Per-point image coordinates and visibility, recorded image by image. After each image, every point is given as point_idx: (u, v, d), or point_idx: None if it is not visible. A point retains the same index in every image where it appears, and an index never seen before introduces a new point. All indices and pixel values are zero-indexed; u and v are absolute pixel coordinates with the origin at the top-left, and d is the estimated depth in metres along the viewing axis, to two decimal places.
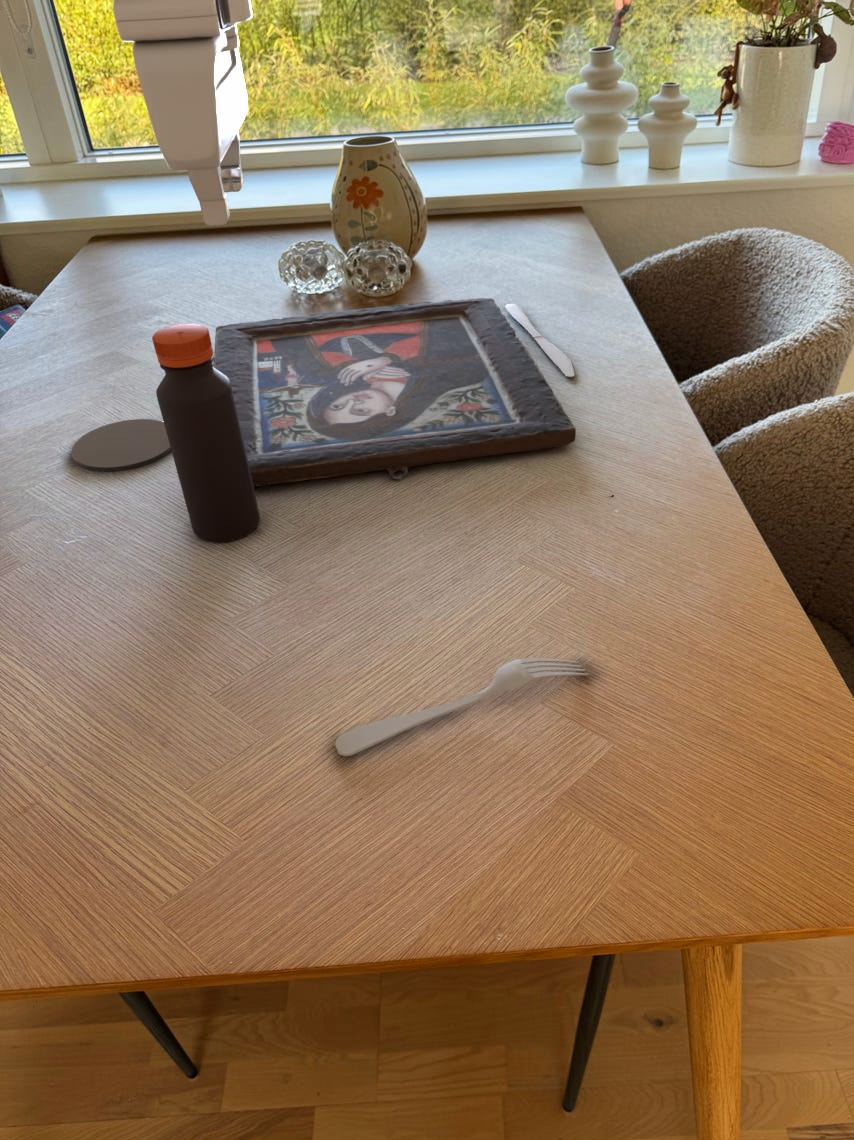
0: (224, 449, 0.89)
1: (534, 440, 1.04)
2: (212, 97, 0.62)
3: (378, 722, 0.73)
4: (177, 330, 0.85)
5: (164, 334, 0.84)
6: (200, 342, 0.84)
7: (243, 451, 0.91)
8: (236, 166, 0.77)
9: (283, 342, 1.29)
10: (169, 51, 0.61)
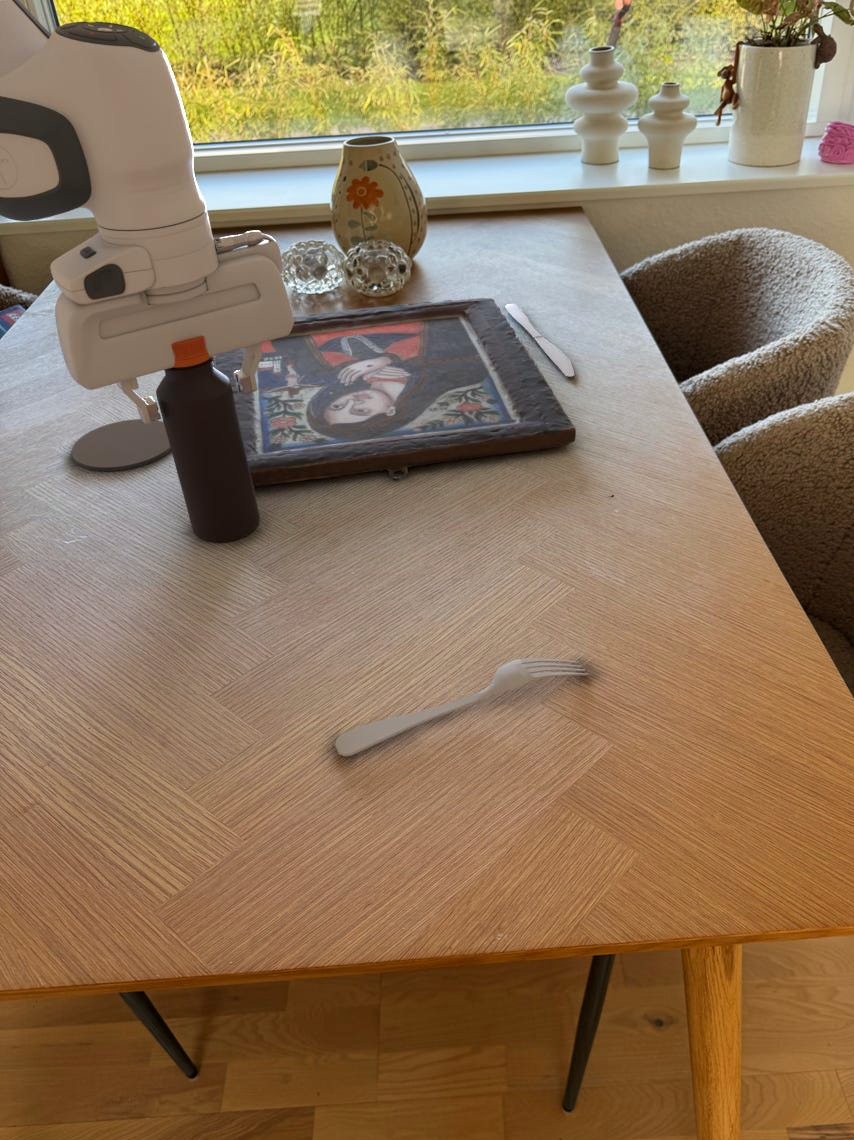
0: (224, 449, 0.89)
1: (534, 440, 1.04)
2: (72, 345, 0.78)
3: (378, 722, 0.73)
4: None
5: None
6: (199, 341, 0.84)
7: (243, 451, 0.91)
8: (243, 376, 0.89)
9: (283, 342, 1.29)
10: (64, 304, 0.78)
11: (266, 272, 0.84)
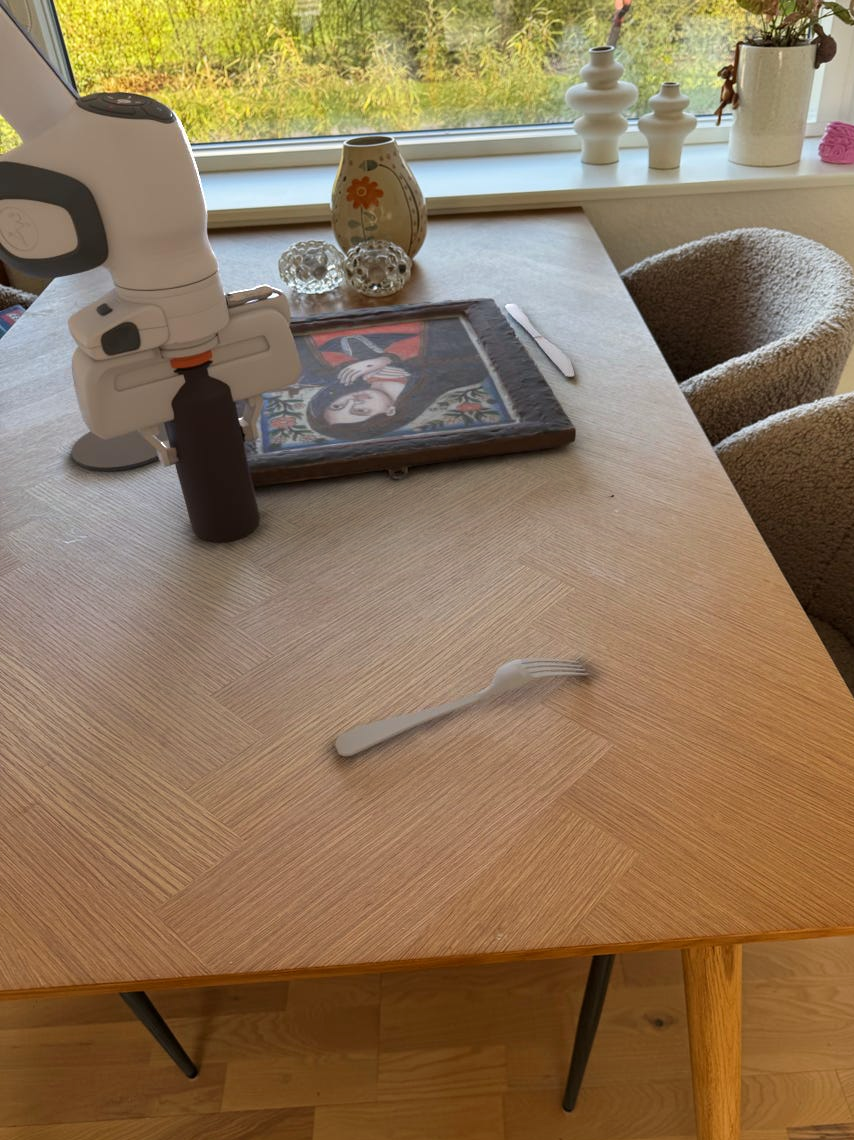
0: (223, 450, 0.89)
1: (534, 440, 1.04)
2: (89, 398, 0.81)
3: (378, 722, 0.73)
4: None
5: None
6: None
7: (243, 451, 0.91)
8: (245, 424, 0.91)
9: None
10: (80, 358, 0.81)
11: (275, 325, 0.87)
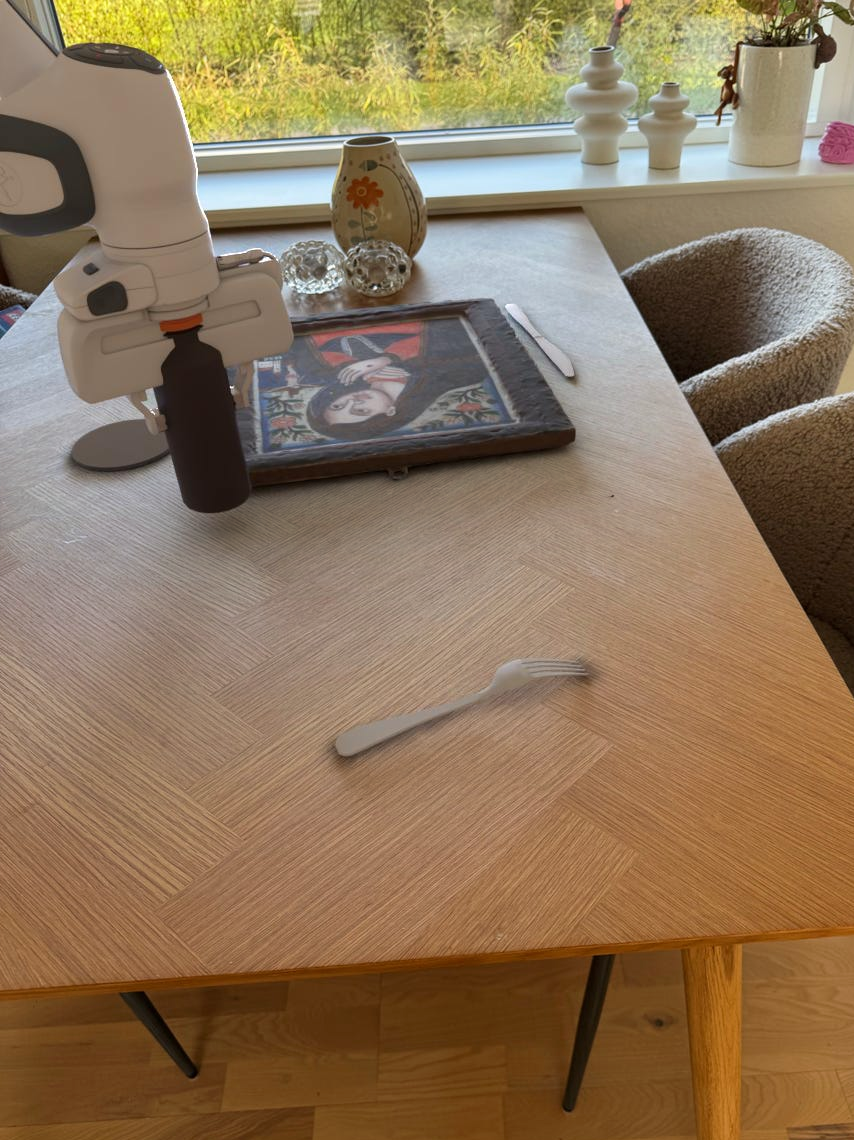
0: (214, 417, 0.87)
1: (534, 440, 1.04)
2: (74, 360, 0.79)
3: (378, 722, 0.73)
4: None
5: None
6: None
7: (234, 420, 0.89)
8: (236, 392, 0.89)
9: None
10: (66, 319, 0.79)
11: (267, 289, 0.85)
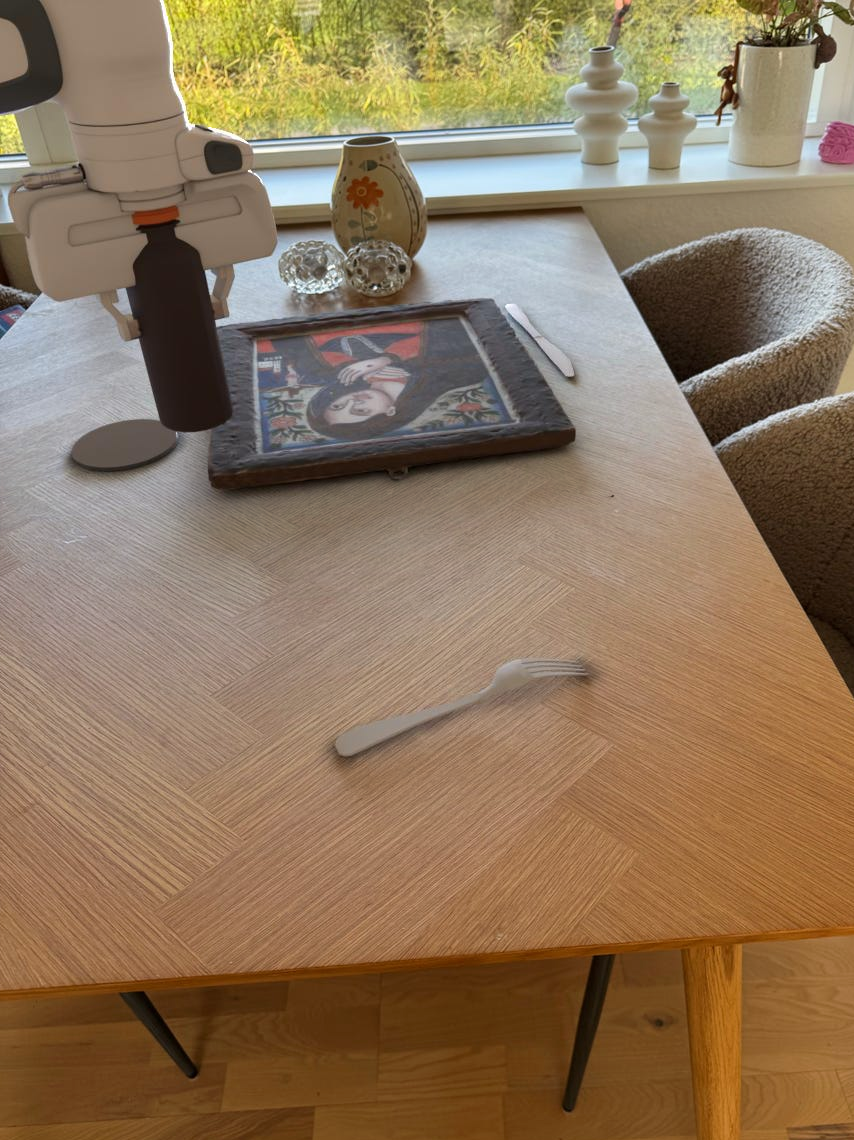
0: None
1: (534, 440, 1.04)
2: None
3: (378, 722, 0.73)
4: None
5: None
6: None
7: None
8: (126, 314, 0.82)
9: (283, 342, 1.29)
10: None
11: None
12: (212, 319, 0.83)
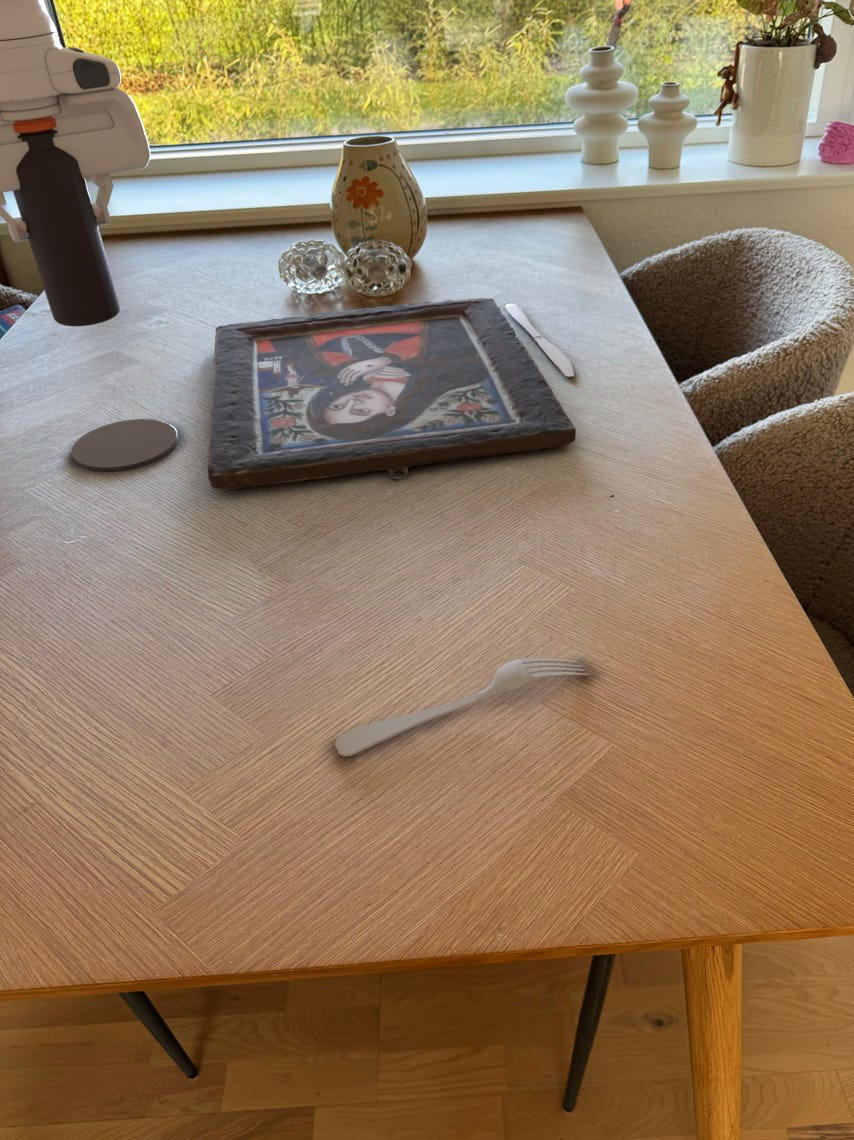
0: None
1: (534, 440, 1.04)
2: None
3: (378, 722, 0.73)
4: None
5: None
6: None
7: None
8: (16, 218, 0.93)
9: (283, 342, 1.29)
10: None
11: None
12: (93, 222, 0.95)
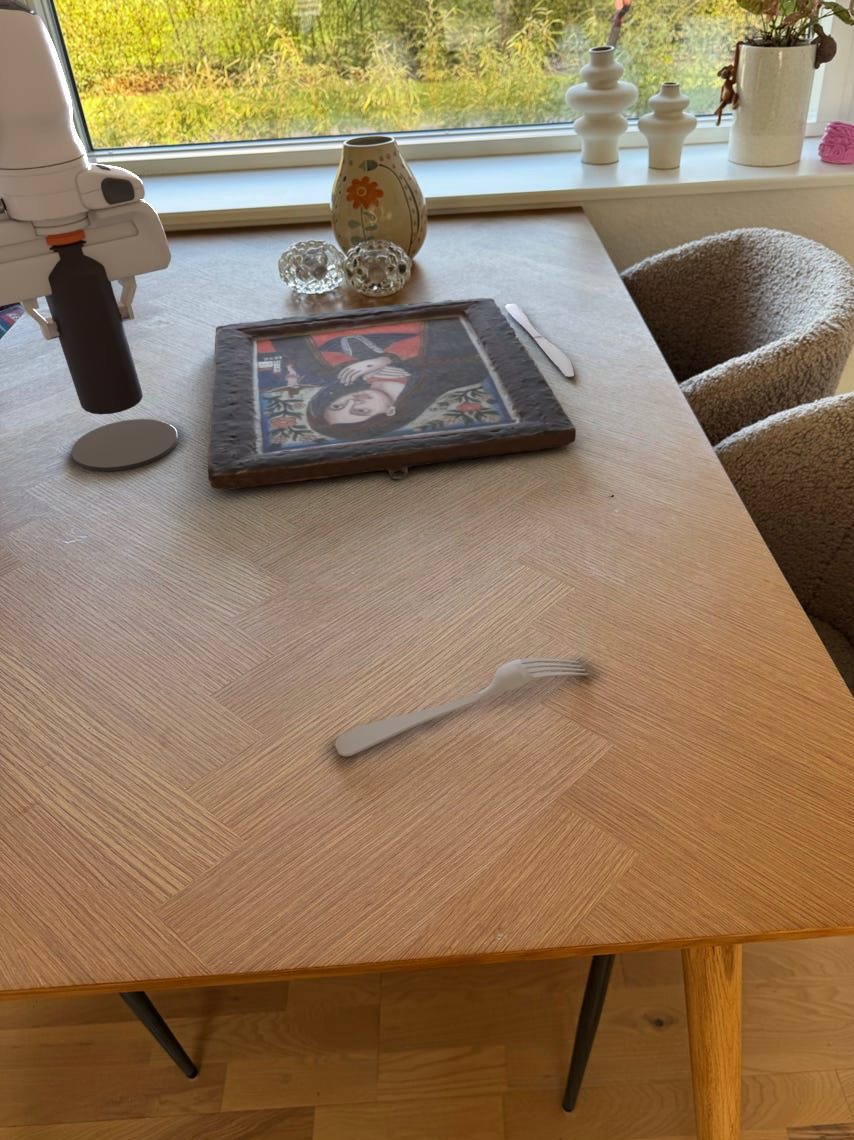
0: None
1: (534, 440, 1.04)
2: None
3: (378, 722, 0.73)
4: None
5: None
6: None
7: None
8: (47, 318, 1.01)
9: (283, 342, 1.29)
10: (142, 199, 0.99)
11: None
12: (118, 320, 1.02)
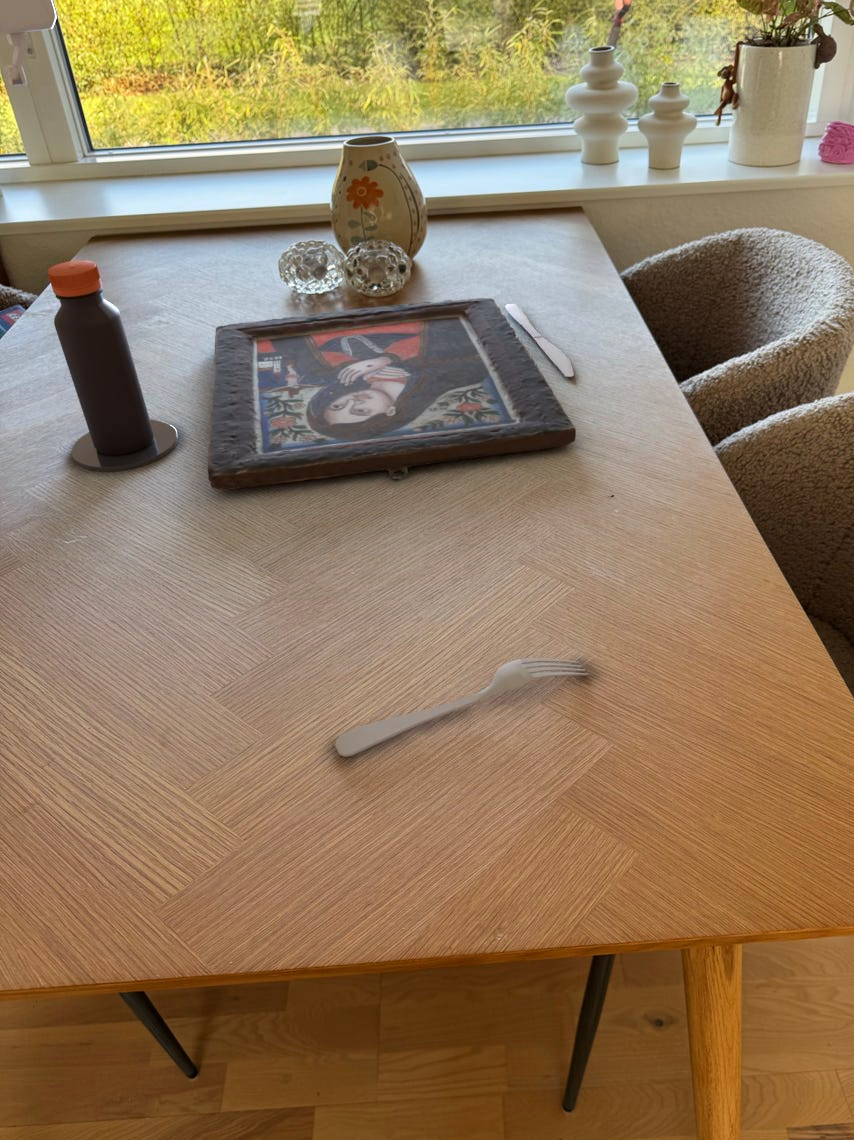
0: None
1: (534, 440, 1.04)
2: None
3: (378, 722, 0.73)
4: (73, 269, 0.98)
5: (85, 266, 0.99)
6: None
7: None
8: None
9: (283, 342, 1.29)
10: None
11: None
12: (131, 366, 1.05)
